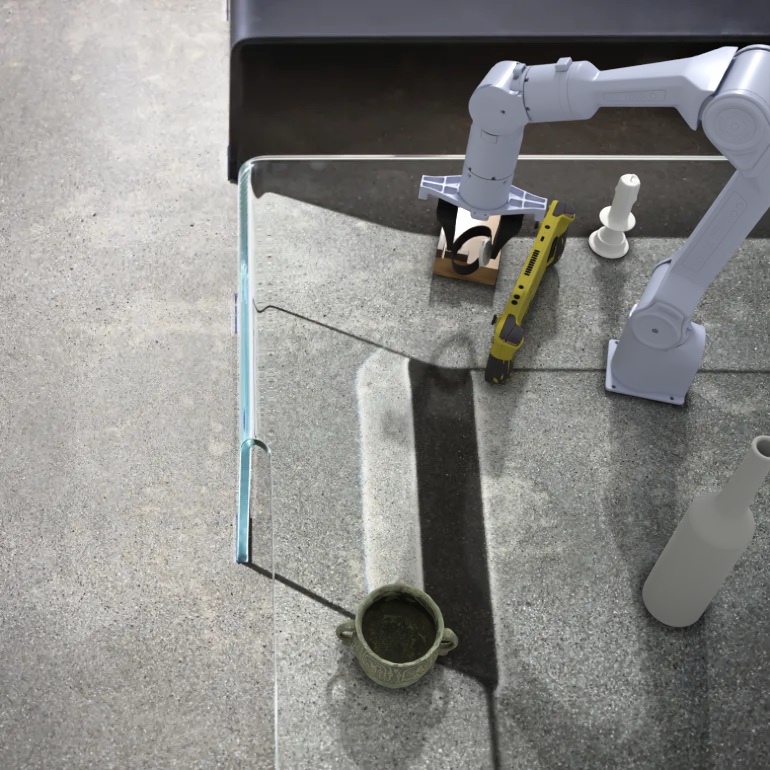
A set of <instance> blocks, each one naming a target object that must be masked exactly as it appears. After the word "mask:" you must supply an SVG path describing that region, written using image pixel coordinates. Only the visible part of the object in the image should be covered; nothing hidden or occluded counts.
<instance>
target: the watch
mask: <svg viewBox="0 0 770 770" xmlns="http://www.w3.org/2000/svg"><path fill="white" fill-rule="evenodd" d="M478 236H485V237H488V238H489V239H485V240H482V245H481V247H480V251H479V256H478V258H477V259H476V260H475V261H474V262H473V263H471V264H469V265H458V264H456V263H455V262H454V261H453V260H454V258H455V256H456V254H457V252H458V251H459V250H460V249H461V248H462V245H463V244H464V243H465V242H466V241H468V240H469V239H471V238H474V237H478ZM491 249H492V231H491V229H490V228H489V227H488V226H484V225H480V226H474V227H471V228H469V229H468V230H466V231H465V232H463V233H462V234H461V235H460V236H459V237H458V238H456V241H455V242H454V243H453V248H452V251H451V262H452V268H453V270H454V271H455V272H456V273H457V274H460V275H469V274H472V273H474V272H475V271H476V270H477V269H478V268H480V266H487V265H488V263H489V261H490V255H491Z"/></svg>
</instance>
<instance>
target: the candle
mask: <svg viewBox="0 0 770 770" xmlns="http://www.w3.org/2000/svg"><path fill="white" fill-rule="evenodd" d="M640 188H641V181H640V179H639V177H638V175H636V174H635V173H632V174H631V173H626V174H624V175H621V176H620V178H619V180H618V183H617V185H616V186H615V188H614V192H615V193H614V196H613V199H612V202H611V205H609V206H606V207H603V208H602V209H601V210H600V212H599V220H600V222H601V224H602V225H603V226H601V227H600V228H599V229H597V230H595V231H593V232H592V233H591V234H590V235H589V237H588V245H589V247H590V248H591V249H592V251H593V252H594V253H595V254H597V255H598V256H601V257H603V258H606V259H620V258H622V257H623V256H625V255H627V253H628V251H629V248H630V245H629V242H628V240H627V237H626V234H625V232H628V231H630V230H632V229H634V227H635V225H636V218H635V216H634V214H633V213H632V212H631V211H632V208H633V205H634V204H635V203H636V201H637V200H638V194H639V191H640Z"/></svg>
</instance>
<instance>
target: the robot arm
mask: <svg viewBox="0 0 770 770" xmlns="http://www.w3.org/2000/svg"><path fill="white" fill-rule="evenodd" d="M738 49H739V47H738V46H722V47H719V48H717V49H713V50H710V51H708V52H705V53H702V54H699V55H694V56H692V57H684V58H680V59H673V60H665V61H660V62H652V63H646V64H641V65H633V66H632V65H631V66H626V67H620V68H613V69H607V70H600V69H598V68H597V67H596V66H595V65H594V64H593V63H591V62H590V61H588V60H580V61H573V60H572V58H571V56H569V57H560V58H559V59H558V60H557V62H556V63H546V64H535V65H526V63H522V62H519V61H515V60H503V61H502V60H501V61H499V62H496V63H495V65H494V66H492V67H491V68H490V70H489V71H488V73H486V75H485V76H484V78H483V79H482V80H481V81H480V83H479V84H478V86H477V87H476V88H475V90H474V91H473V92H472V95H471V97H470V98H469V101H468V112H469V115H470V117H471V119H472V123H471V125H470V129H469V135H468V140H467V145H466V151H465V156H464V161H463V167H462V172H461V175H460V174H459V175H444V176H443V175H442V176H441V175H440V176H438V175H437V176H432V175H424V174H423V175H422V176H421V180H420V184H419V190H418V197H417V199H419V200H423V201H424V200H425V201H427V200H428V199H429V198H434V199H438V200H437V205H436V210H435V213H436V214H435V215H436V219H437V220H438V222H439V223H440V225H441V228H443V230H444V234H445V238H446V250H447V251H452V248H453V243H454V238H455V233H456V222H457V214H458V209H459V207H460V208H463V209H465V210H467V211H469V212H470V217H471V218H472V219H475V220H480V221H487V220H488V219H489V216H494V215H501V216H500V221H499V225H498V228H497V231H496V234H495V237H494V240H493V244H492V249H491V255H490V259H494V260H495V259H496V257H497V255H498V253H499V252H500V250H501V249H502V250H503V248H504V246H505V245H506V244H507V243H508V242H509V241H510V240H512V238H514V237H515V236H517V235H518V234H519V233H520V231H521V230H522V228H523V222H524V217H525V216H529V217H532V218H533V220H534V221H535V222H536V221H539V222H543V219H544V218H545V216H546V213H547V204H548V198H546V197H541V196H538V195H535V194H532V193H530V192H528V191H526V190H523V189H521V188H519V187H517V186H515V185H513V181H514V176H515V172H516V169H517V168H516V167H517V164H518V159H519V155H520V151H521V146H522V144H523V138H524V131H525V126H528V124H536V123H550V122H551V123H552V122H568V121H584V120H589V119H591V118H592V117H593V116H595V114H596V113H597V111H598V110H599V109H600V108H602V107H603V108H604V107H605V108H607V107H608V108H609V107H611V108H614V107H616V108H620V107H621V108H623V107H624V108H625V107H626V108H629V107H630V108H632V107H633V108H636V107H637V108H638V107H641V108H644V107H646V108H647V107H648V108H651V107H654V108H656V107H657V108H661V107H662V108H675V109H676V110H677V111H678V113H679V114H680V115H681V117H682V119H684V121H685V122H686V124H687V125H688V127H689V128H690V129H691V130H693V131H697V129H698V127H699V126H700V124H701V127H702V130H703V133H704V134H705V136H706V137H707V139H708V140H709V142H710V143H711V144H712V145H713V146H714V147H715V148H716V150H718V152H719V153H720V154H721V155H722V156H723V157H725V159H726V160H727V161H728V162H729V163H730V164H731V165H732V166H733V167H734V168H735V169H736V170H735V171H734V173H733V174H732V176H731V177H730V179H729V180H728V181H727V182H726V184H725V186H724V187H723V188H722V190H721V191H720V193H719V194H718V196H717V197H716V198H715V200H714V201H713V203H712V204H711V205H710V207H709V209H708V210H707V211H706V212H705V214H704V215H703V217H702V218H701V220H700V221H699V222H698V223H697V225H696V227H695V228H694V229H693V231H692V232H691V234H690V235H689V236H688V238H687V239H686V241H685V242H684V244H683V245H682V246H681V247H678V248H677V249H676V251H675V252H674V253H673V255H671V256H669V257H668V258H665V259H663V260H661V261H659V262H658V263H657V264H656V265H655V266H654V268H653V269H652V272H651V276H650V279H649V280H648V282H647V285H646V287H645V288H644V291H643V293H642V295H641V297H640V299H639V301H637V302H636V303H635V304H634V305H633V306H632V307H631V309H630V311H629V313H628V317H627V318H626V321H625V324H624V326H623V328H622V331H621V334H620V337H619V339H613V338H611V339H609V340H608V343H607V356H606V367H605V380H604V389H605V390H606V391H607V392H613V393H617V394H623V395H626V396H627V395H628V396H633V397H637V398H642V399H648V400H652V401H656V402H657V401H658V402H662V403H667V404H673V405H677V406H682V405H684V403H685V397H686V394H687V393H688V390H689V388H690V387H691V385H692V383H693V381H694V379H695V376H696V375H697V372H698V371H699V369H700V366H701V363H702V359H703V356H704V353H705V348H706V338H707V332H706V327H705V326H703V325H701V324H698V323H696V322H694V321H692V318H693V317H694V314H695V312H696V309H697V307H698V304H699V302H700V301H701V300H702V297H703V295H704V294H705V292H706V290H707V289H708V287H709V286H710V285H711V284H712V283H713V281H714V279H715V278H716V277H717V276H718V274H719V273H720V272H721V271H722V269H723V268H724V266H725V265H726V264H727V262H728V261H729V260H731V258H732V256H733V255H734V253H735V252H736V251H737V250H738V248H739V247H740V246H741V244H742V243H743V242H744V241H745V239H746V238H747V237H748V235H749V234H750V233H751V232H752V230H753V229H754V228H755V226H756V225H757V224H758V223H759V221H760V220H761V219H762V217H763V216H764V214H765V213H766V212H767V211H768V209H769V208H770V45H768V44H767V45H766V44H751V45H747V46H745V47H743V48H741V49H739V50H738ZM502 250H501V251H502Z"/></svg>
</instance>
